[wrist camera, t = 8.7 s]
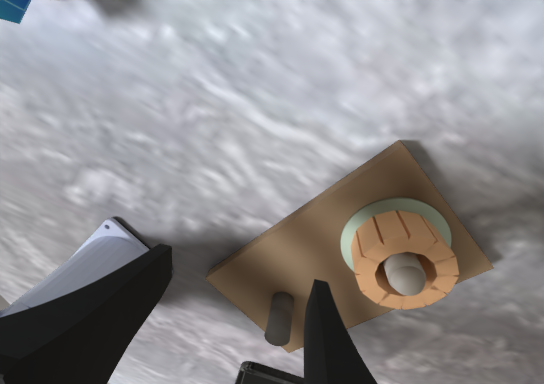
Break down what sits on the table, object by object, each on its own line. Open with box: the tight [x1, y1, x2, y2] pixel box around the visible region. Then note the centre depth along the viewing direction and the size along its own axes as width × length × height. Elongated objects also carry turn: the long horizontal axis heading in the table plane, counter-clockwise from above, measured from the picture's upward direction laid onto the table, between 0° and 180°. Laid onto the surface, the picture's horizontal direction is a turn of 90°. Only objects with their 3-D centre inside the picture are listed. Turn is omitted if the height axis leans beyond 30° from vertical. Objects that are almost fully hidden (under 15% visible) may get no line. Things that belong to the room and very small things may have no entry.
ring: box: [351, 210, 459, 310], centre depth 18 cm, size 6×6×3 cm
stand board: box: [205, 140, 494, 353], centre depth 21 cm, size 20×12×6 cm, turn 132°
